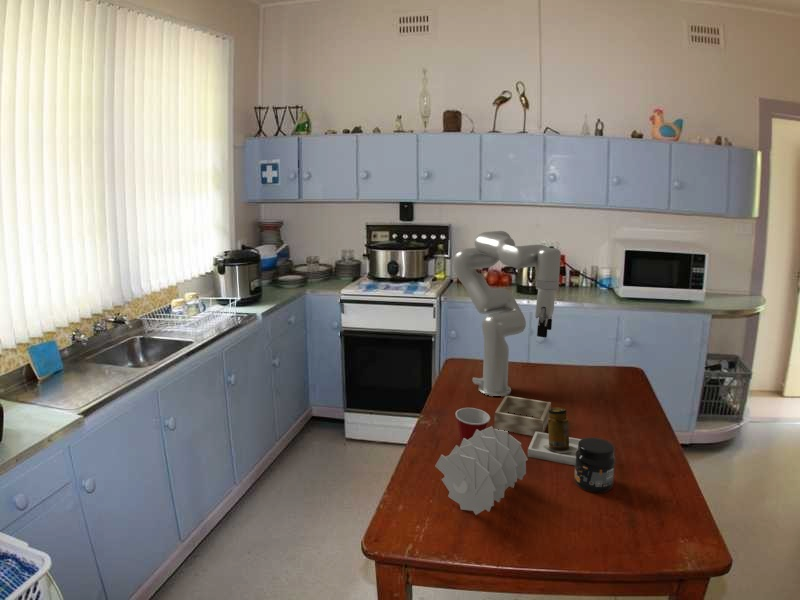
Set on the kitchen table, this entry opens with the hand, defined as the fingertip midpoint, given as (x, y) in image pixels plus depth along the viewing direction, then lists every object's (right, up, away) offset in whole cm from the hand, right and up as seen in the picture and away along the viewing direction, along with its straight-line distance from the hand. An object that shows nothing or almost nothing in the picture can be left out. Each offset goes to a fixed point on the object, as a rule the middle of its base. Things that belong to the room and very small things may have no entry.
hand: (544, 333), depth 203 cm
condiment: (0, -35, -21) cm, 41 cm away
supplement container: (+4, -41, -38) cm, 56 cm away
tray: (0, -36, -20) cm, 41 cm away
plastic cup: (-27, -36, -19) cm, 49 cm away
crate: (-8, -31, 0) cm, 32 cm away
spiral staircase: (-27, -42, -44) cm, 67 cm away
